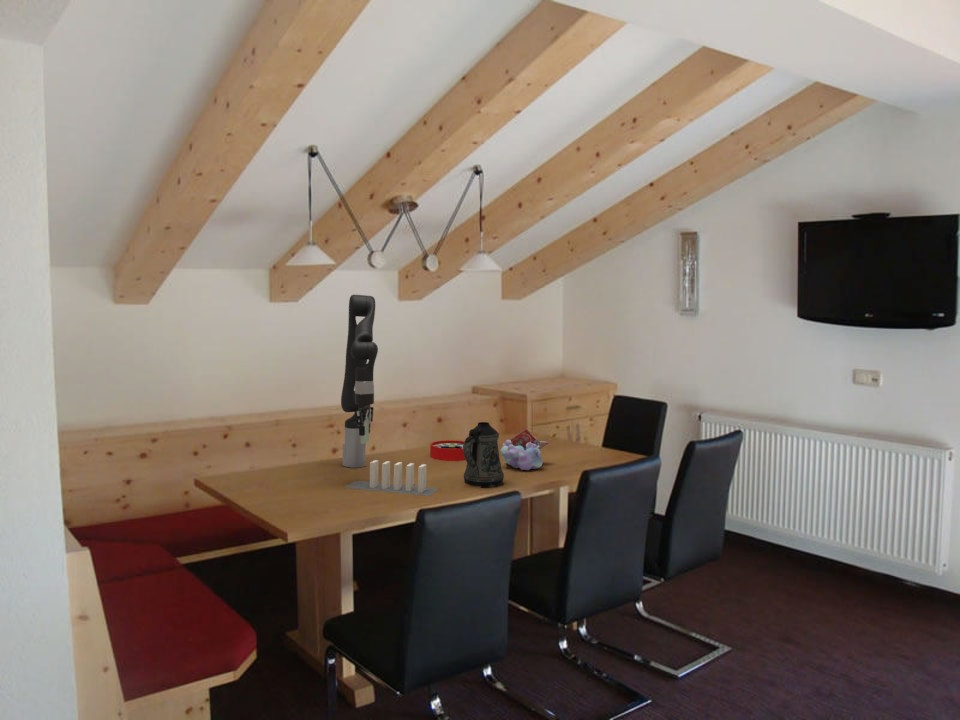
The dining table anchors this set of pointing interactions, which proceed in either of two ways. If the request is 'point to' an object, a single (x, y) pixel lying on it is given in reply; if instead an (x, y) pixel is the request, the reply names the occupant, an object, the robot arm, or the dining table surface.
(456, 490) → the dining table surface
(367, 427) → the domino
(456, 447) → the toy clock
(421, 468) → the domino
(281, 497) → the dining table surface
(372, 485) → the domino
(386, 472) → the domino
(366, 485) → the mat
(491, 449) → the beer stein
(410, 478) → the domino
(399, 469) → the domino
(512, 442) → the swirly pastel blob
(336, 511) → the dining table surface
